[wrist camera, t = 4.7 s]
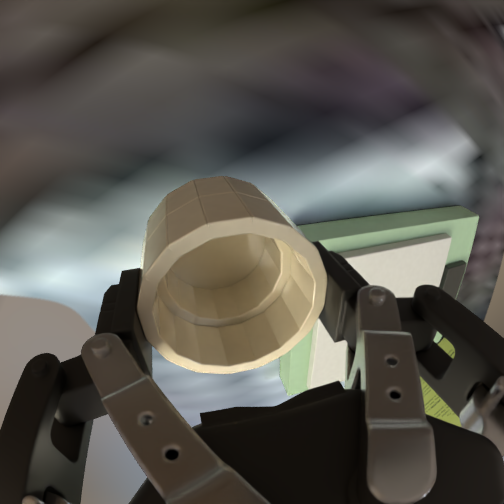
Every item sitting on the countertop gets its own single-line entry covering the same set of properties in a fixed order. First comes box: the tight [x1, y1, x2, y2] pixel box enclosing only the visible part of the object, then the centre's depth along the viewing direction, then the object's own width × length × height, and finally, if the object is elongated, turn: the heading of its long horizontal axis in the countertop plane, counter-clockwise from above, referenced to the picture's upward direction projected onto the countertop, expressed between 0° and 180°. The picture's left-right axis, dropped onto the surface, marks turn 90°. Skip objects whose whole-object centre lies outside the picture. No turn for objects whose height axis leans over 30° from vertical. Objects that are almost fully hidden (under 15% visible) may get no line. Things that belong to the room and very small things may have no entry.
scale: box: [280, 206, 479, 396], centre depth 23 cm, size 14×17×3 cm
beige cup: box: [137, 176, 328, 374], centre depth 12 cm, size 6×6×5 cm
